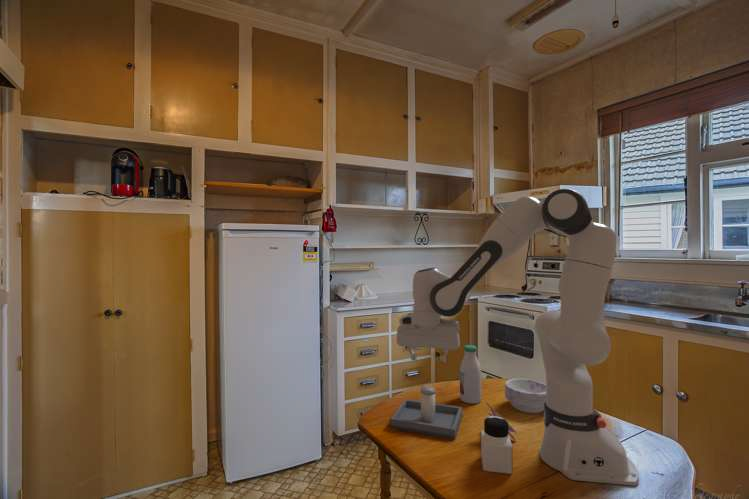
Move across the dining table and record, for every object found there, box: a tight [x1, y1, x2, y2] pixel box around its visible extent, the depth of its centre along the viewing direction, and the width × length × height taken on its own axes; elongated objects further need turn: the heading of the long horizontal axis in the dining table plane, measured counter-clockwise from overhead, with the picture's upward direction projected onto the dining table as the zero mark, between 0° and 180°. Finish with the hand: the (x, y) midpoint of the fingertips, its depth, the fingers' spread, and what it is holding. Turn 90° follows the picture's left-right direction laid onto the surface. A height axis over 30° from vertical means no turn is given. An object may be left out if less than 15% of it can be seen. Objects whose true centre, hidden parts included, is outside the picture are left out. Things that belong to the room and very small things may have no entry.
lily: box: [485, 402, 518, 442], centre depth 112 cm, size 12×12×10 cm
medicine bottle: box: [480, 415, 513, 475], centre depth 98 cm, size 7×7×12 cm
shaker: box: [420, 385, 436, 423], centre depth 122 cm, size 5×5×10 cm
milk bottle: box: [459, 344, 482, 405], centre depth 139 cm, size 8×8×20 cm
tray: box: [390, 398, 463, 441], centre depth 122 cm, size 20×16×3 cm
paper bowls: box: [504, 378, 546, 414], centre depth 132 cm, size 15×15×8 cm
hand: (428, 360), depth 122 cm, fingers open, 8 cm apart
